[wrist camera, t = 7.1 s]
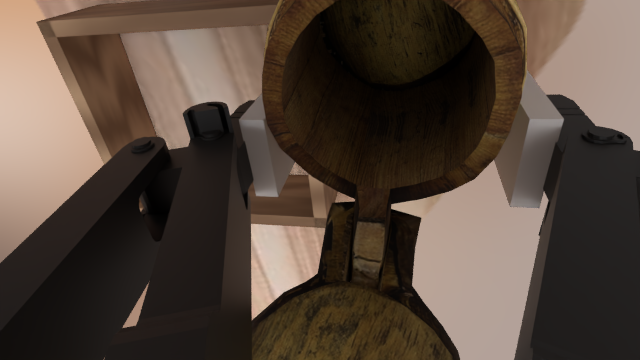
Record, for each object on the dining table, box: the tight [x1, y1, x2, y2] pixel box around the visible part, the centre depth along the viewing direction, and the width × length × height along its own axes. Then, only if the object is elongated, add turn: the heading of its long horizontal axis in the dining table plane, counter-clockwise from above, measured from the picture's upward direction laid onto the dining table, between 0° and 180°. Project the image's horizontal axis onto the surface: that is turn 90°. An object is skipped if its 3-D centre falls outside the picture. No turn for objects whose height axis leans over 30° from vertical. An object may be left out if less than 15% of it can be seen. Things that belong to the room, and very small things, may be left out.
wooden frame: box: [37, 0, 338, 228], centre depth 35 cm, size 19×21×7 cm
